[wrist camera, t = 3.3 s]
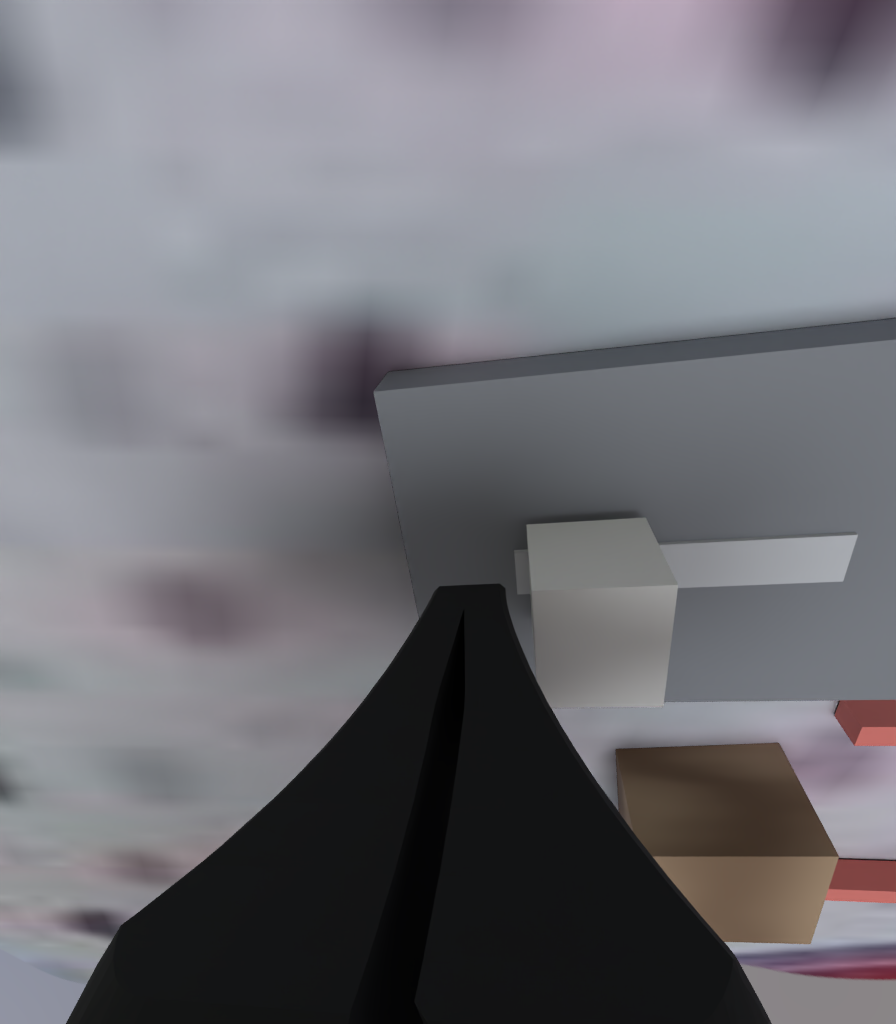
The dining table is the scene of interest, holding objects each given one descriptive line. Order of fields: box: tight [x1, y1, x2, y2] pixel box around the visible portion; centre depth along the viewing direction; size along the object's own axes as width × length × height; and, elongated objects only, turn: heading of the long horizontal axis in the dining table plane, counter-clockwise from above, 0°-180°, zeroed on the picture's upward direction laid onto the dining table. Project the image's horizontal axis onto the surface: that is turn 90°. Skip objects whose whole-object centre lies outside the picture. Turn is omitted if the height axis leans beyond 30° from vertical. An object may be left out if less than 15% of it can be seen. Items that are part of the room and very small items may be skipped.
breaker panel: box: [374, 318, 896, 702], centre depth 12 cm, size 12×9×2 cm
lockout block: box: [616, 743, 839, 944], centre depth 16 cm, size 5×5×4 cm
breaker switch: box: [526, 518, 678, 708], centre depth 10 cm, size 2×3×2 cm
